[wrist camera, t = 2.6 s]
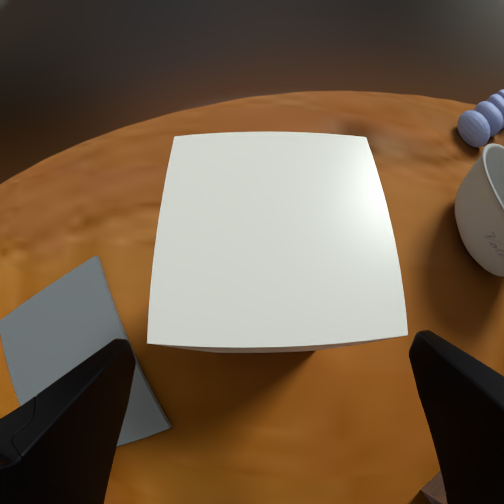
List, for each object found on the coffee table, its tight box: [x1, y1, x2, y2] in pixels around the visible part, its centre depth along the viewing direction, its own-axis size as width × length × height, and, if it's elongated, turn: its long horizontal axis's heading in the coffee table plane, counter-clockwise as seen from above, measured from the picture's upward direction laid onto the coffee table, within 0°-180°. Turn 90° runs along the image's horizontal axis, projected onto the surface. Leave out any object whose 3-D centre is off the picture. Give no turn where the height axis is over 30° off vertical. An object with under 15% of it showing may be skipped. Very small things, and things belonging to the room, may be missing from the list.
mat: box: [0, 256, 172, 446], centre depth 16 cm, size 14×14×1 cm
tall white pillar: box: [147, 132, 408, 353], centre depth 13 cm, size 7×7×12 cm
